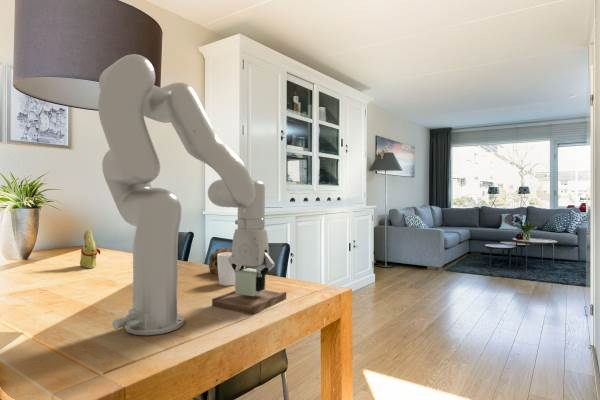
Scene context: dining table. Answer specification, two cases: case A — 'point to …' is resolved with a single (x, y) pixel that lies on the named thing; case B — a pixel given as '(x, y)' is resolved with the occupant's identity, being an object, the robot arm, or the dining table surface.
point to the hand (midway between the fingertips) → (250, 288)
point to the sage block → (246, 282)
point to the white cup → (225, 269)
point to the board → (248, 301)
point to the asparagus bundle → (88, 251)
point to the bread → (213, 260)
